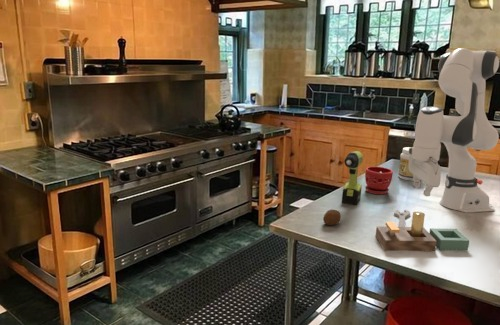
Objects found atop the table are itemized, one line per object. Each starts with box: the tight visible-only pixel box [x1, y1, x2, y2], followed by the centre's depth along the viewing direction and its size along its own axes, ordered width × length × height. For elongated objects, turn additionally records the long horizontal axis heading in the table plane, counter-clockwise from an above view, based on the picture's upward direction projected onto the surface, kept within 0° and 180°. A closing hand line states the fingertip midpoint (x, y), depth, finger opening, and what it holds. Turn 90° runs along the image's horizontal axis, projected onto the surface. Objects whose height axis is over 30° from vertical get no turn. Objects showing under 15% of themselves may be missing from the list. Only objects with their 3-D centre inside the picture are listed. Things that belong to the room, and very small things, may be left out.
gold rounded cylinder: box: [410, 211, 426, 237], centre depth 150 cm, size 4×4×12 cm
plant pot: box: [364, 166, 394, 195], centre depth 207 cm, size 13×13×12 cm
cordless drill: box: [341, 150, 364, 206], centre depth 188 cm, size 23×7×25 cm, turn 155°
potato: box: [322, 208, 342, 226], centre depth 168 cm, size 7×10×6 cm
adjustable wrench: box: [393, 209, 411, 227], centre depth 170 cm, size 25×6×2 cm, turn 154°
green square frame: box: [428, 227, 470, 252], centre depth 151 cm, size 10×10×4 cm
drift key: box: [385, 221, 400, 236], centre depth 151 cm, size 3×7×6 cm, turn 178°
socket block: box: [375, 225, 437, 252], centre depth 151 cm, size 18×12×4 cm, turn 88°
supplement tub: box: [397, 146, 414, 182], centre depth 230 cm, size 12×12×17 cm
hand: (421, 191), depth 146 cm, fingers open, 8 cm apart
